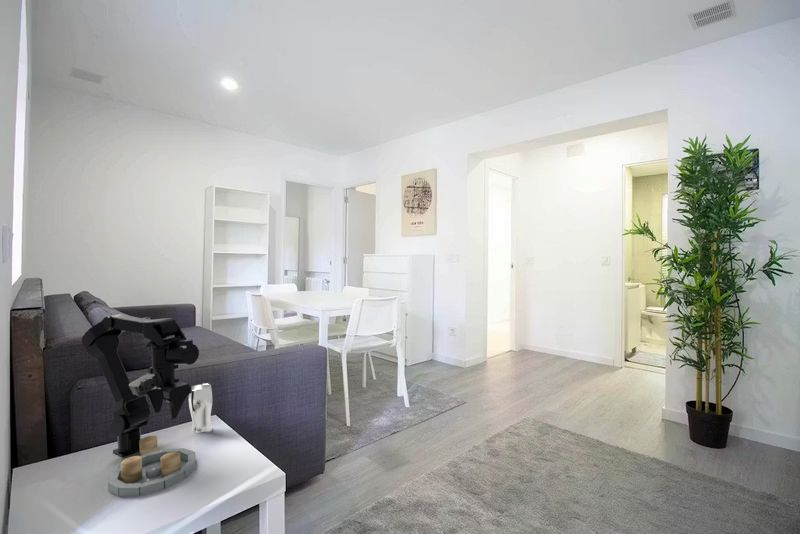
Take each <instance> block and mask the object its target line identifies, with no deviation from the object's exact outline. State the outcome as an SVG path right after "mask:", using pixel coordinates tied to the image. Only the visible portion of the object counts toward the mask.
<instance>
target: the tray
mask: <svg viewBox="0 0 800 534" xmlns="http://www.w3.org/2000/svg"><path fill="white" fill-rule="evenodd" d="M171 452H179V453H180V461H181V468H180V469H179V470H178V471H176V472H174V473H172V474H169V475H167V476H165V477H163V478H161V457H162V456H163V455H165V454H167V453H171ZM141 457H142V479H140V480H139V481H137V482H135V483H130V484H125V483H124V482H122V481H121V465H120V466H118V467H117V468H115V469H114V470H113V471H111V473H110V476H109V478H108V481H107V487H108V488H107V489H108V492H109V493H111V494H113V495H115V496H116V497H139V496H145V495H148V494H152V493H155V492H160V491H162V490H163V491H164V490H166V489H168V488H170V487H173V485H176V484H178V483H179V482H181V481H183V480H185V479H186V478H188V476H189V475H191V474H192V473H193V471H194V470H195V469H196V468H197V461H196V459H197V458H196V452H195V451H193V450H191V449H189V448H184V447H177V448H176V447H175V448H164V449H159V450H158V451H155V452H150V453H146V454H144V455H141Z"/></svg>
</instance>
